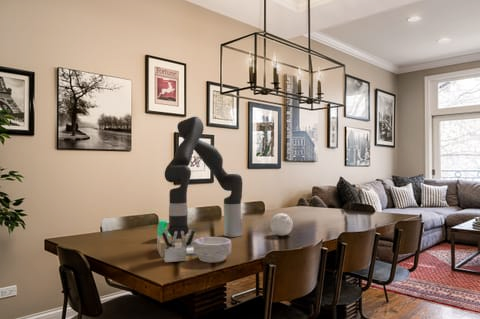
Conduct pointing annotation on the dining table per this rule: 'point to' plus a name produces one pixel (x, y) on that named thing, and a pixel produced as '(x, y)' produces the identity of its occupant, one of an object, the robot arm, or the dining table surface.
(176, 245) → the aluminium bracket
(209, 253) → the white marbled bowl
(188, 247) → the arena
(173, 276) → the dining table surface
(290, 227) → the decorative ball
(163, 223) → the camera mount
